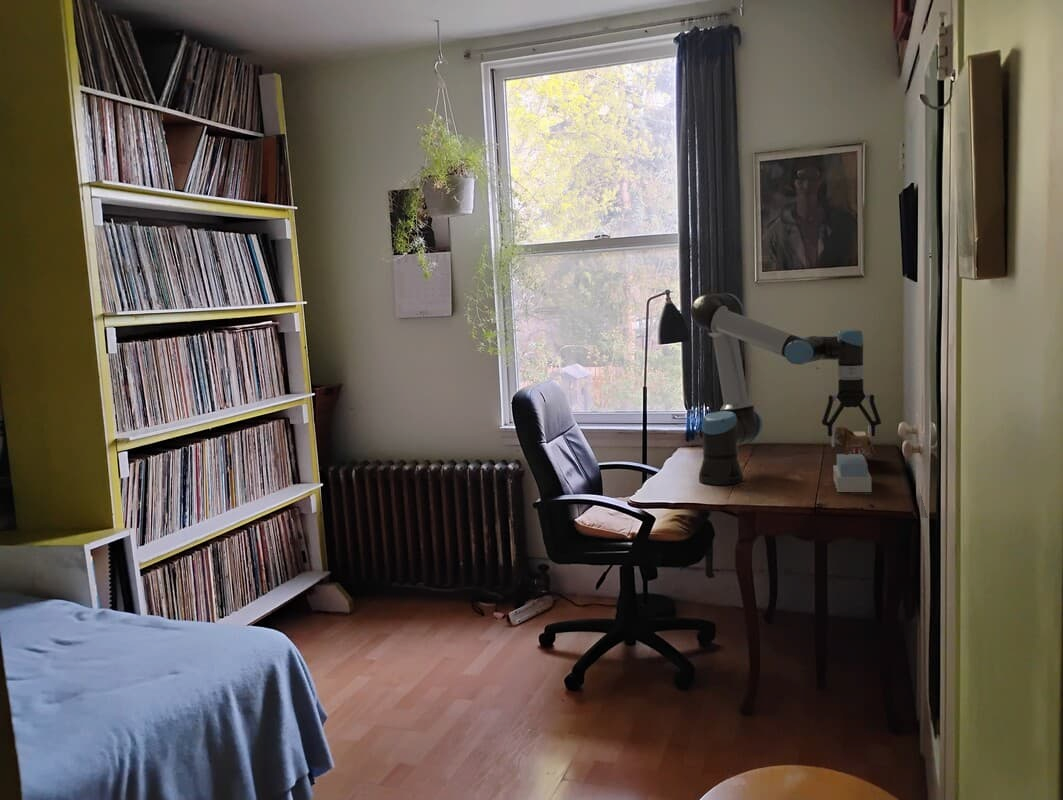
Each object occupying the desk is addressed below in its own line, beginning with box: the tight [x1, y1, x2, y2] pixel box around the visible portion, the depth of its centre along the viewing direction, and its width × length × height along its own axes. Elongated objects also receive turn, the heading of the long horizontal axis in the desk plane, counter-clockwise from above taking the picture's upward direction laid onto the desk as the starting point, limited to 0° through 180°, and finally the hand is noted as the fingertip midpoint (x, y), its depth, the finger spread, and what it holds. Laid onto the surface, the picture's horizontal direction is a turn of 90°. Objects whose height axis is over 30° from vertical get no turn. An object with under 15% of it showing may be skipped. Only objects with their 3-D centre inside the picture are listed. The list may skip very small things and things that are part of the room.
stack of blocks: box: [849, 431, 867, 461], centre depth 304 cm, size 21×6×12 cm, turn 160°
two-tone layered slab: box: [832, 453, 872, 493], centre depth 275 cm, size 10×18×9 cm, turn 164°
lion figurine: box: [834, 426, 880, 459], centre depth 273 cm, size 15×5×9 cm, turn 45°
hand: (851, 446), depth 274 cm, fingers closed on lion figurine, 10 cm apart
